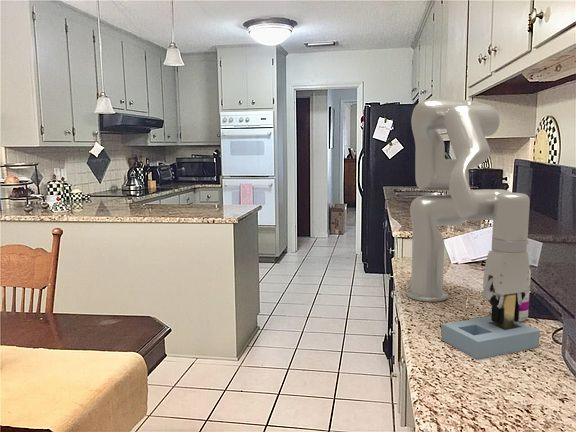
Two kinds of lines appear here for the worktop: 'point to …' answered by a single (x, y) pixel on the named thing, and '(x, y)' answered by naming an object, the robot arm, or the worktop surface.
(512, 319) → the yellow cylinder
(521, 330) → the block
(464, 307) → the worktop surface
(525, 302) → the supplement can
